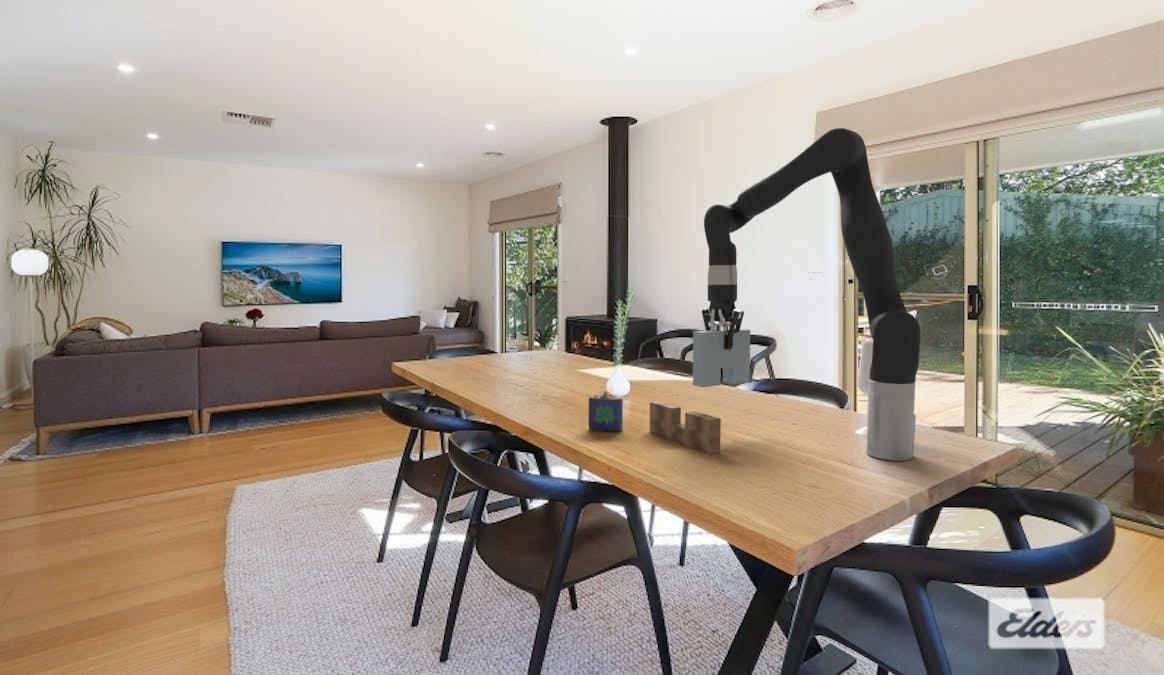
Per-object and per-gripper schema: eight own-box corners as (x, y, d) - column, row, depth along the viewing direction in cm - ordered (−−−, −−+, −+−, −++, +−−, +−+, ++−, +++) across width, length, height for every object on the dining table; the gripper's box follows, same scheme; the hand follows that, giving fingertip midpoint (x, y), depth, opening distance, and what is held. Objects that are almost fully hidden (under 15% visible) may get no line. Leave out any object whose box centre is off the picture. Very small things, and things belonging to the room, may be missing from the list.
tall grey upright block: (692, 385, 155) (693, 331, 154) (739, 379, 163) (739, 328, 162) (703, 387, 152) (703, 332, 150) (749, 381, 159) (750, 329, 158)
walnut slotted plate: (649, 431, 158) (649, 402, 158) (658, 430, 160) (659, 400, 159) (710, 454, 137) (710, 420, 137) (720, 452, 139) (720, 418, 138)
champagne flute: (872, 429, 159) (876, 340, 157) (889, 436, 153) (893, 343, 150) (849, 430, 158) (852, 340, 156) (864, 437, 152) (868, 343, 150)
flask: (623, 429, 161) (623, 390, 160) (622, 432, 158) (621, 392, 157) (589, 428, 162) (589, 389, 161) (587, 431, 159) (587, 391, 158)
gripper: (753, 282, 151) (752, 350, 152) (714, 283, 163) (714, 345, 164) (730, 283, 147) (730, 352, 148) (693, 283, 159) (693, 347, 161)
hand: (721, 348), depth 156 cm, fingers closed on tall grey upright block, 4 cm apart
